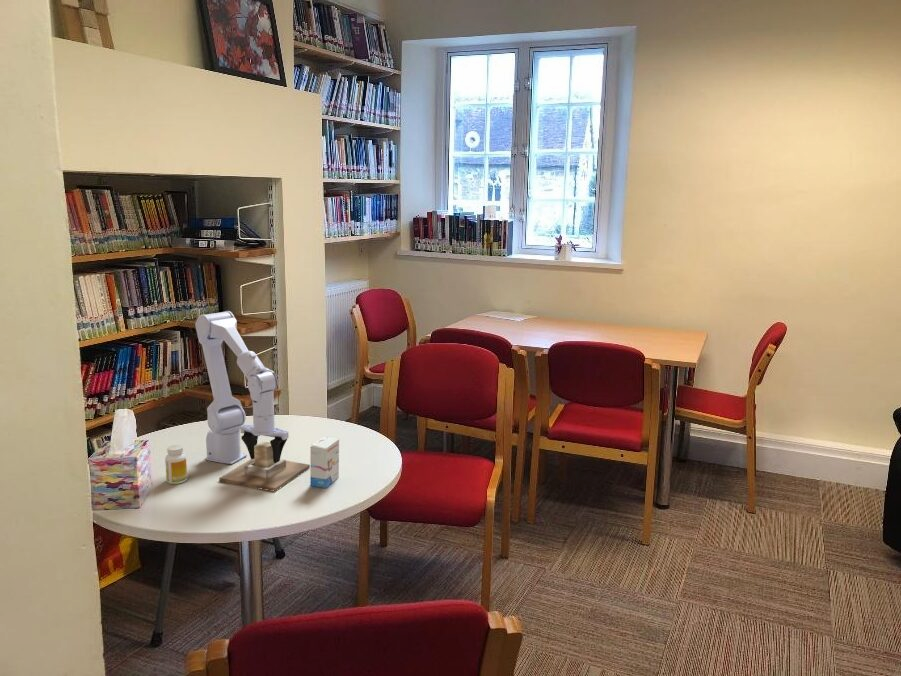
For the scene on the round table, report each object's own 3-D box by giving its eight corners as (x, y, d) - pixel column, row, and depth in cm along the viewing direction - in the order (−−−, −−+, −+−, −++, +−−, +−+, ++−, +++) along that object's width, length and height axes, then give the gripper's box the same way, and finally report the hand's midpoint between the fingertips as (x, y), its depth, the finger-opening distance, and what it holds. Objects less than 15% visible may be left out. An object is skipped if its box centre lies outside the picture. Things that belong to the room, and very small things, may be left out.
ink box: (326, 489, 201) (325, 448, 198) (309, 486, 202) (309, 445, 199) (339, 477, 209) (339, 437, 206) (323, 474, 210) (323, 435, 207)
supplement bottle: (191, 478, 206) (189, 445, 203) (178, 485, 201) (176, 452, 198) (175, 475, 207) (173, 442, 205) (162, 482, 202) (160, 449, 200)
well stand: (219, 481, 204) (218, 469, 203) (257, 458, 221) (256, 447, 220) (275, 491, 198) (274, 479, 197) (309, 467, 215) (309, 456, 214)
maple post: (255, 472, 208) (254, 445, 206) (263, 467, 211) (262, 441, 210) (267, 474, 206) (266, 448, 205) (275, 469, 210) (274, 443, 208)
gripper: (233, 414, 204) (235, 460, 207) (278, 421, 199) (279, 468, 202) (248, 407, 211) (249, 452, 214) (292, 414, 206) (293, 459, 209)
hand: (265, 459), depth 208 cm, fingers open, 7 cm apart
